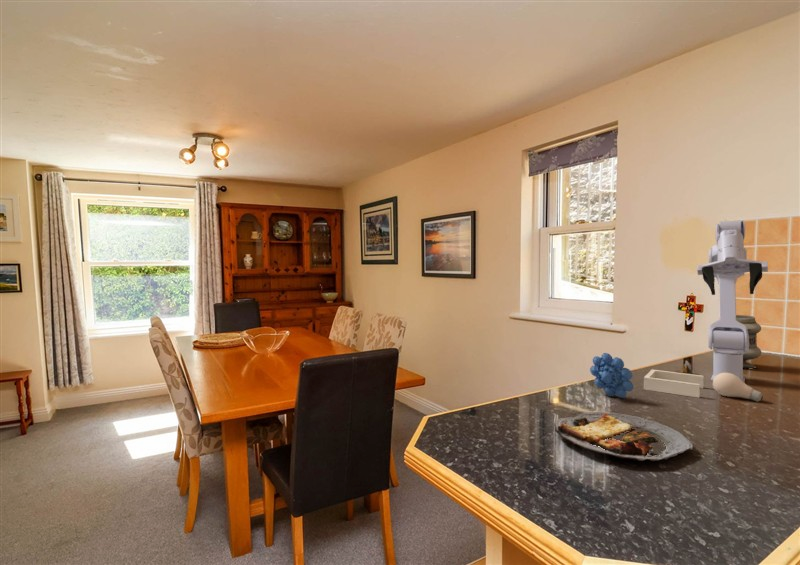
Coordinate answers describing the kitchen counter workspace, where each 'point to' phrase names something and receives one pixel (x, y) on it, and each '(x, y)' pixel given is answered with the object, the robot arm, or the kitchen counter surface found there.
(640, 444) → the food plate
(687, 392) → the socket cradle
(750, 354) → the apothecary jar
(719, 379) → the light bulb
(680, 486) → the kitchen counter surface
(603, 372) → the grapes
